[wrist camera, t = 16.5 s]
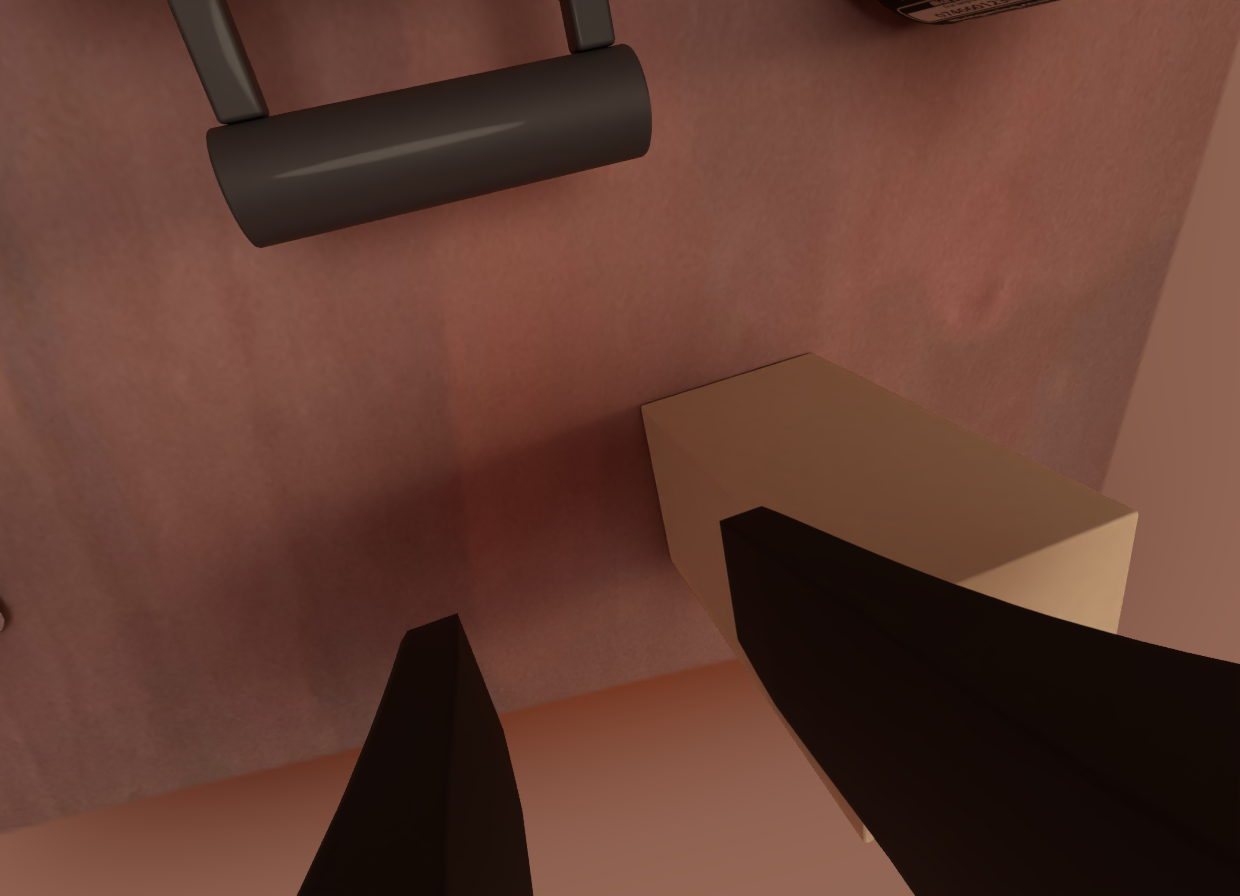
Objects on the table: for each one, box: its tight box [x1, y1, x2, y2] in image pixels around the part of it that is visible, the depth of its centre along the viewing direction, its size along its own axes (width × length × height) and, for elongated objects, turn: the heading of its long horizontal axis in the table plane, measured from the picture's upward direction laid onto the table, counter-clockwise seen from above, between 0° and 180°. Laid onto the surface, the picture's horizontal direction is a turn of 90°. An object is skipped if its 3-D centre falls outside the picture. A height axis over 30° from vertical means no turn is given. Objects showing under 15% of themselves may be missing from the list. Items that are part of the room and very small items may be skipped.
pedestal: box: [641, 353, 1138, 843], centre depth 16 cm, size 5×5×10 cm
